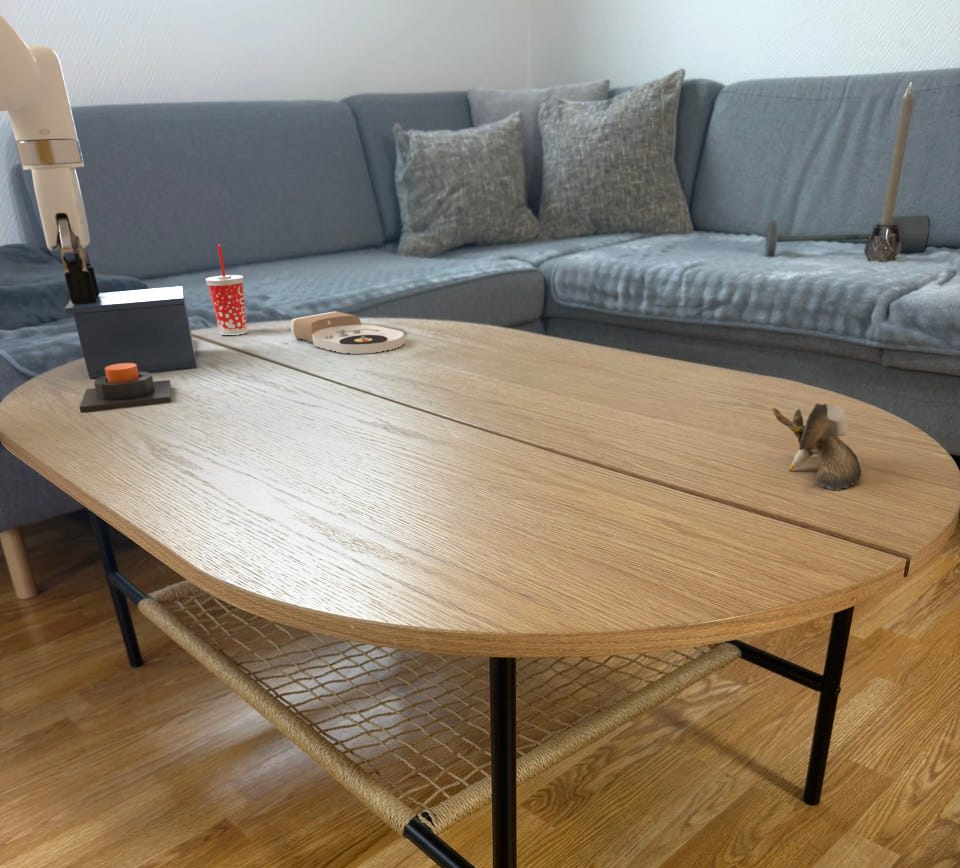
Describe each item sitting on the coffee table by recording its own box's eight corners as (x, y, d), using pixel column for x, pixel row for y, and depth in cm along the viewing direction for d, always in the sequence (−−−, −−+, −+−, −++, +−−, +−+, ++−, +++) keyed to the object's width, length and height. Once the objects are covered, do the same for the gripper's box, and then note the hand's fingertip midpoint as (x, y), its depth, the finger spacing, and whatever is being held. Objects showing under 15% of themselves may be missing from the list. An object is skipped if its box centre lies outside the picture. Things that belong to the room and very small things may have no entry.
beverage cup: (237, 337, 144) (222, 247, 138) (207, 336, 146) (191, 247, 140) (259, 330, 149) (245, 242, 143) (230, 329, 151) (215, 242, 145)
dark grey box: (89, 379, 122) (73, 314, 118) (96, 360, 133) (81, 300, 128) (196, 367, 126) (184, 304, 121) (194, 350, 136) (183, 292, 132)
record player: (344, 309, 145) (418, 324, 132) (346, 328, 147) (419, 345, 133) (283, 320, 139) (354, 337, 125) (286, 340, 140) (356, 359, 127)
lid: (66, 314, 118) (55, 274, 115) (74, 301, 128) (65, 264, 126) (184, 303, 121) (177, 265, 119) (183, 291, 132) (176, 256, 130)
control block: (84, 425, 101) (75, 391, 99) (90, 406, 109) (82, 374, 107) (173, 414, 103) (166, 381, 101) (173, 397, 111) (166, 365, 109)
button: (107, 386, 102) (103, 371, 101) (109, 379, 105) (105, 365, 105) (139, 382, 103) (135, 367, 102) (140, 376, 106) (136, 361, 105)
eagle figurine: (746, 446, 81) (779, 460, 72) (792, 378, 79) (831, 384, 70) (811, 487, 82) (852, 505, 73) (858, 421, 80) (905, 432, 72)
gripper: (29, 157, 121) (64, 294, 129) (10, 158, 106) (50, 312, 115) (86, 155, 123) (117, 289, 131) (75, 155, 108) (110, 306, 117)
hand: (86, 298), depth 123 cm, fingers closed on lid, 5 cm apart
